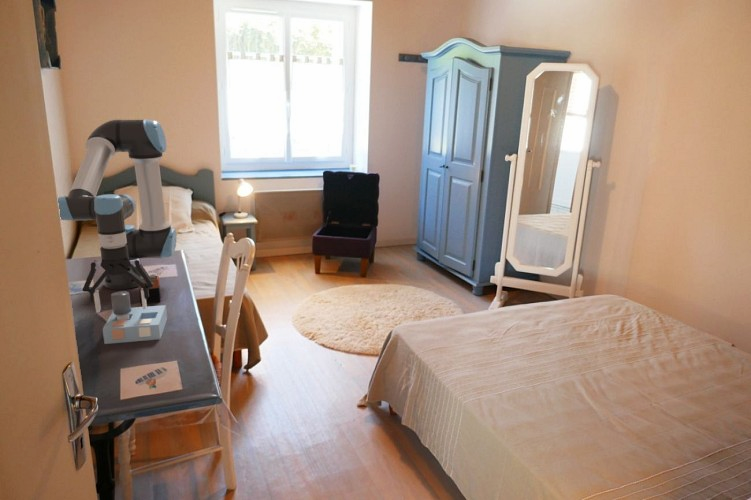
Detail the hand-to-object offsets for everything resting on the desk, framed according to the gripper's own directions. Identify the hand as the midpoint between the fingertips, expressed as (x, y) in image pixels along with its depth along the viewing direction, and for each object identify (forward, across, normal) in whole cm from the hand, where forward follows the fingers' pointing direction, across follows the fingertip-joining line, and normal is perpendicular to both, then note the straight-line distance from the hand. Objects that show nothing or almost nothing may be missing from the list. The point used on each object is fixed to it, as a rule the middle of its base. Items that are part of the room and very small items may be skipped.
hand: (122, 309), depth 165 cm
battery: (+8, +4, +26) cm, 27 cm away
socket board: (+8, +4, 0) cm, 9 cm away
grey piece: (+7, 0, 0) cm, 7 cm away
